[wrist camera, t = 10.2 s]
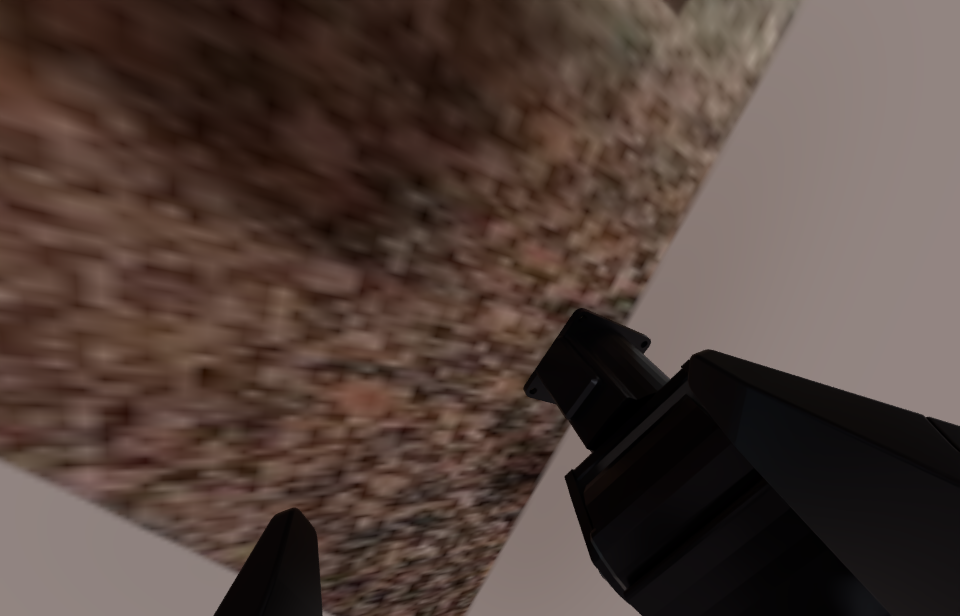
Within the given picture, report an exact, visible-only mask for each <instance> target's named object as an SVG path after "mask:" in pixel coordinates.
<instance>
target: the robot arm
mask: <svg viewBox="0 0 960 616" xmlns="http://www.w3.org/2000/svg"><path fill="white" fill-rule="evenodd" d="M581 316H583V317H582V318H581V319H579V318H580V317H581ZM650 344H651V340H650V339H649V338H648V337H647V336H646V335H644V334H642V333H639V332H637V331H635V330H633V329H630V328H628V327H626V326H623V325H621V324H619V323H617V322H614V321H612V320H610V319H607V318H605V317H603V316H600V315H598V314H596V313H594V312H591V311H589V310H587V309H584V308H580V309H577V310H576V311H575V312H574V313H573V314H572V316H571V317H570V319H569V320H568V322H567V323H566V325H565V326H564V328H563V329H562V331H561V332H560V334H559V335H558V337H557V338H556V339H555V341H554V342H553V344H552V345H551V347H550V348H549V350H548V351H547V353H546V354H545V356H544V357H543V359H542V360H541V362H540V363H539V365H538V366H537V368H536V369H535V371H534V372H533V374H532V375H531V376H530V378H529V379H528V381H527V382H526V384H525V385H524V392H525V393H526V395H527V396H528V397H530V398H534V399H538V400H542V401H545V402H549V403H553V404H557V406H558V407H559V409H560V410H561V412H562V414H563V415H564V417H565V418H566V419H568V421H569V422H570V424H571V425H572V427H573V428H574V430H575V431H576V433H577V434H578V436H579V437H580V439H581V440H582V442H583V443H584V445H585V447H586V448H587V449H589V450H590V451H591V452H592V454H590V455H589V456H588V457H587V458H586V459H585V460H584V461H583V462H582V463H581V464H580V465H579V466H578V467H577V468H576V469H574V470H573V469H572V470H571V471H570V472H569V473H568V474H567V475H565V480H566V483H567V486H568V489H569V493H570V497H571V499H572V503H573V506H574V509H575V512H576V515H577V518H578V521H579V524H580V527H581V530H582V533H583V536H584V540H585V543H586V545H587V549H588V552H589V555H590V558H591V560H592V562H593V564H594V565H595V566H596V568H598V570H599V572H600V574H601V576H602V577H603V578H604V579H605V580H606V581H607V582H608V583H609V584H610V585H611V587H612V588H613V589H614V590H615V591H616V592H617V593H618V594H619V595H620V596H621V597H622V598H623V599H624V600H625V601H626V602H627V603H629V604H630V605H631V606H632V607H634V608H635V609H636V610H637V611H638V612H639V613H640V614H641V615H642V616H960V426H958V425H954V424H951V423H948V422H945V421H942V420H938V419H935V418H932V417H925V416H924V415H922V414H919V413H915V412H912V411H909V410H906V409H902V408H899V407H896V406H893V405H889V404H886V403H883V402H879V401H876V400H873V399H870V398H867V397H863V396H860V395H857V394H854V393H850V392H847V391H844V390H840V389H837V388H834V387H831V386H828V385H824V384H821V383H818V382H815V381H811V380H808V379H805V378H802V377H799V376H795V375H792V374H789V373H785V372H782V371H779V370H776V369H773V368H769V367H766V366H763V365H760V364H756V363H753V362H750V361H747V360H743V359H740V358H737V357H734V356H731V355H727V354H724V353H721V352H717V351H714V350H709V349H708V350H703V351H701V352H698V353H696V354H694V355H692V356H691V358H690V360H688V361H687V362H686V363H684V364H683V365H682V366H681V368H682V369H681V370H680V371H679V372H678V373H677V374H676V375H675V376H674V377H672V378H671V379H669V378H668V377H667V376H666V375H665V374H664V373H663V372H662V371H661V370H660V369H659V368H658V367H657V366H655V365H654V364H653V363H652V362H651V361H650V360H649V359H648V358H647V357H646V356H645V355H644V352H645V351H646V350H647V348H648V347H649V346H650ZM532 388H533V389H532ZM531 389H532V390H531ZM214 616H322V598H321V584H320V569H319V555H318V540H317V534H316V531H315V529H314V527H313V526H312V525H311V523H310V522H309V521H308V520H307V518H306V517H305V516H304V515H303V514H302V512H301V511H300V510H299V509H298V508H291V509H288V510H285V511H283V512H280V513H278V514H276V515H275V516H274V517H273V518H272V519H271V521H270V522H269V524H268V526H267V527H266V529H265V531H264V532H263V534H262V536H261V537H260V539H259V541H258V542H257V544H256V546H255V547H254V549H253V551H252V552H251V554H250V556H249V557H248V559H247V561H246V562H245V564H244V566H243V567H242V569H241V571H240V572H239V574H238V576H237V577H236V579H235V581H234V582H233V584H232V586H231V587H230V589H229V591H228V592H227V594H226V596H225V597H224V599H223V601H222V602H221V604H220V606H219V607H218V609H217V611H216V612H215V614H214Z"/></svg>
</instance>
